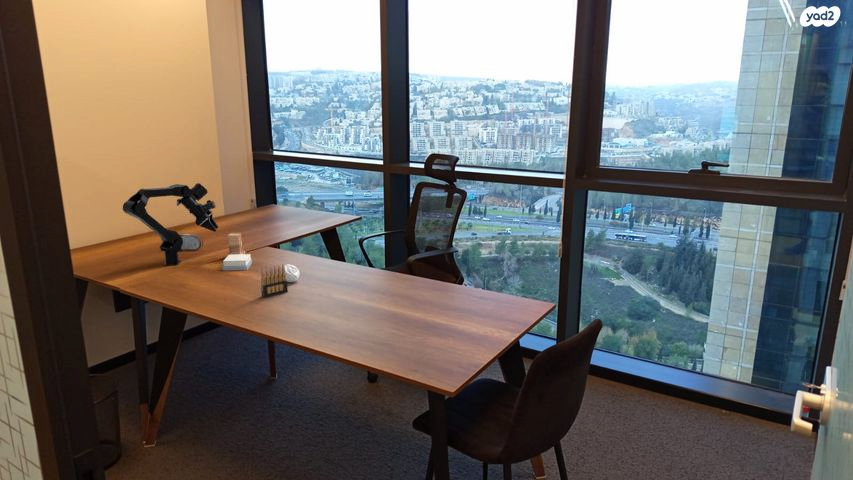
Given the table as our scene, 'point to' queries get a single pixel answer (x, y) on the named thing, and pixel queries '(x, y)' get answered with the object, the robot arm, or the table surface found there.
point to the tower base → (237, 267)
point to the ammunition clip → (273, 282)
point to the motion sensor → (291, 273)
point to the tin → (191, 241)
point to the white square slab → (237, 260)
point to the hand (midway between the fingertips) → (216, 229)
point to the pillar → (235, 244)
